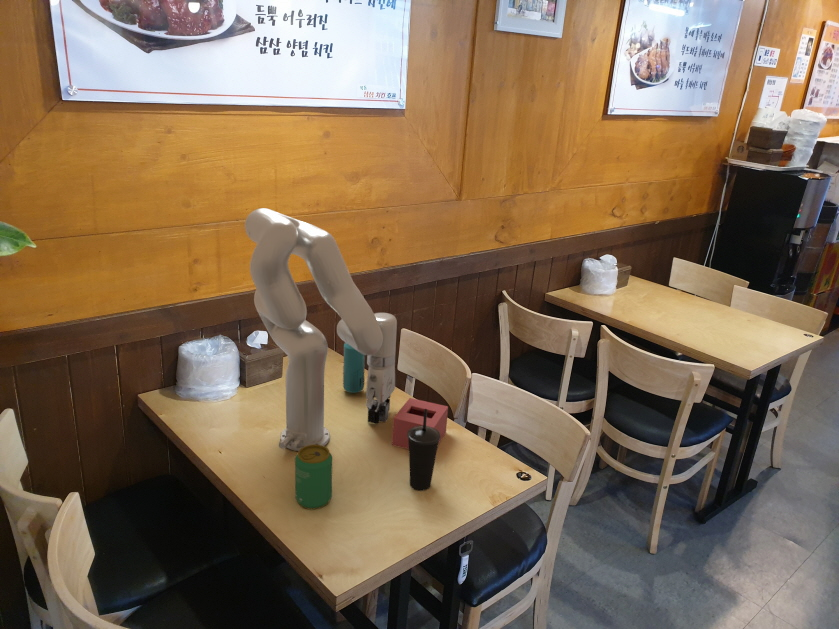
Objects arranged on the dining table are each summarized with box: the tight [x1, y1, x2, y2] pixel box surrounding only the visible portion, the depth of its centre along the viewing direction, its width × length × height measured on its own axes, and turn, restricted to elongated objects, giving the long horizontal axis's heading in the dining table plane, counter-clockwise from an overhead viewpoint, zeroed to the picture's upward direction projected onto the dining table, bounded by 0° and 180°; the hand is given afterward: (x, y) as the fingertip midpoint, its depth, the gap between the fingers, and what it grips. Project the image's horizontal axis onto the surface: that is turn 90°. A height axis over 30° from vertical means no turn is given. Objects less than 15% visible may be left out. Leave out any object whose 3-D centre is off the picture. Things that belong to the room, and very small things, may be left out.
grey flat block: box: [373, 402, 390, 423], centre depth 173 cm, size 2×5×5 cm, turn 70°
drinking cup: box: [407, 409, 441, 492], centre depth 143 cm, size 8×8×20 cm
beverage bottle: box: [342, 342, 366, 394], centre depth 184 cm, size 6×7×20 cm
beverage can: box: [294, 445, 333, 510], centre depth 137 cm, size 8×8×12 cm
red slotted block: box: [391, 397, 449, 450], centre depth 164 cm, size 12×11×8 cm
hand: (378, 416), depth 174 cm, fingers open, 6 cm apart
